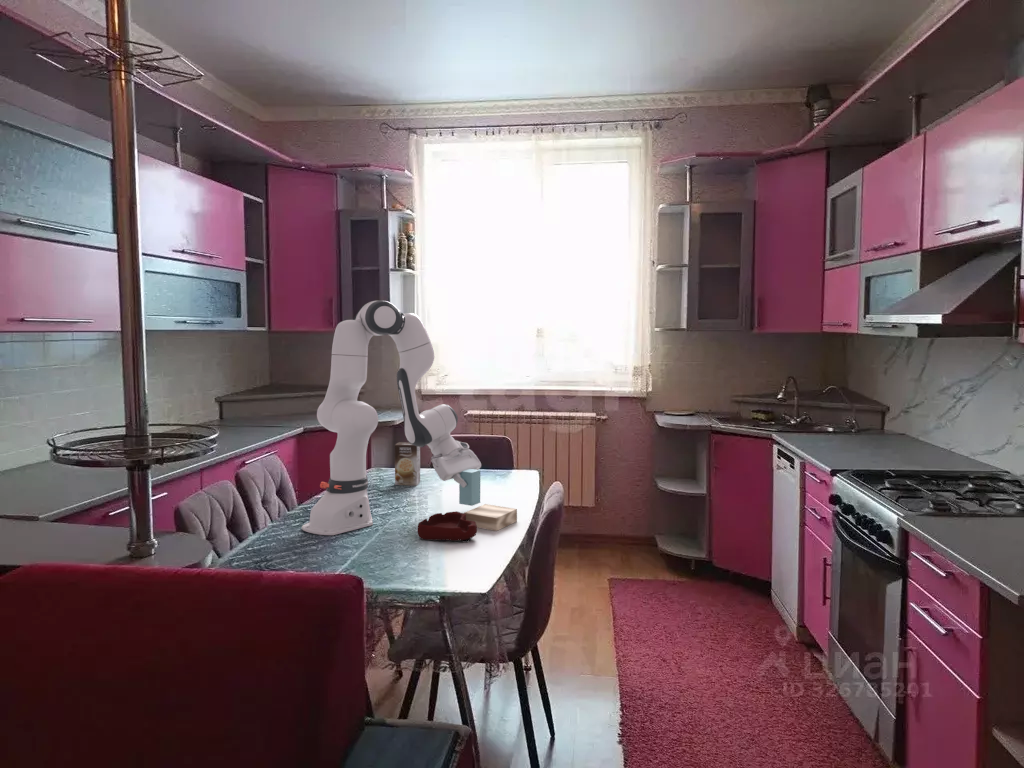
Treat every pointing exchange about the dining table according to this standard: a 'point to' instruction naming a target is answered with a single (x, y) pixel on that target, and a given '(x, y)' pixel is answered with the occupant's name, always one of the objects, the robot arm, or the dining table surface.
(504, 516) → the plinth
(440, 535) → the ashtray
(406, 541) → the dining table surface
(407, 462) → the coffee box
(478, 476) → the teal block
